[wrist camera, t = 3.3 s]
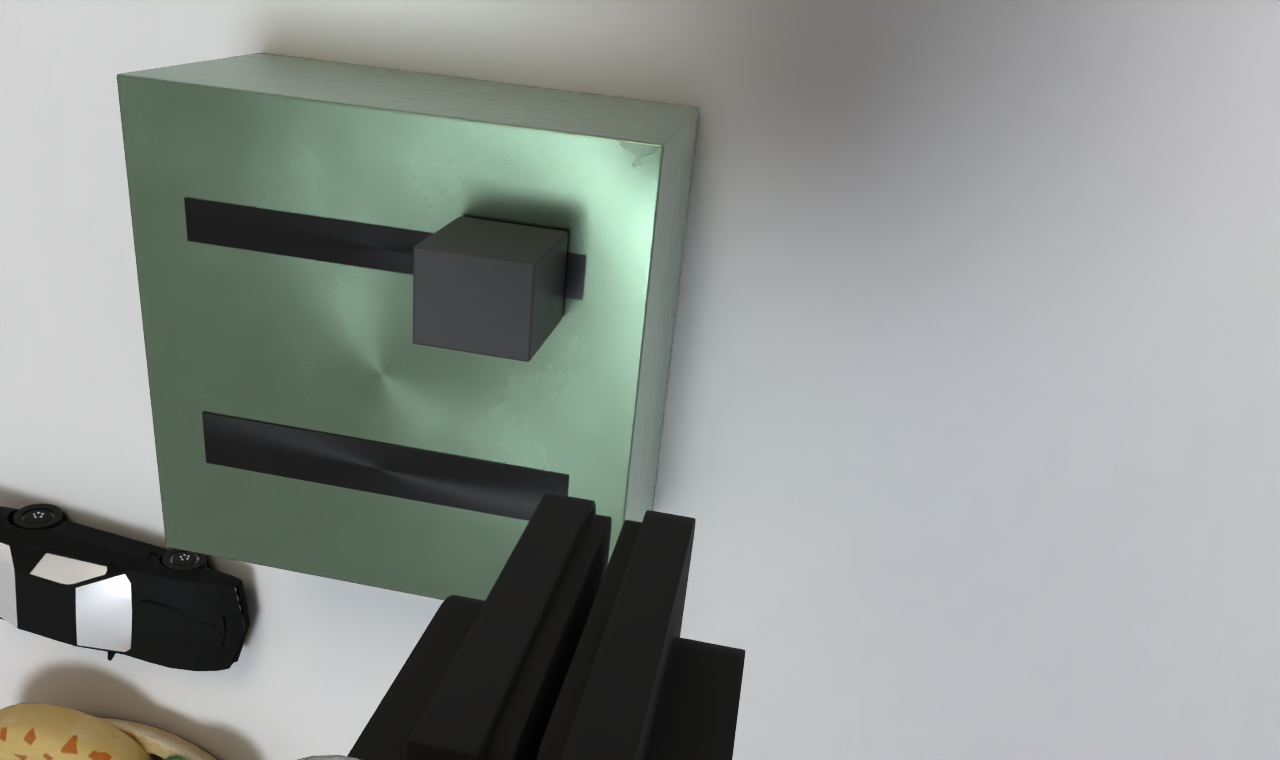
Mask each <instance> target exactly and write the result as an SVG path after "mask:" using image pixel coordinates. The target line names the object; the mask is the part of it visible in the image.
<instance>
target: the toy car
mask: <svg viewBox="0 0 1280 760" xmlns="http://www.w3.org/2000/svg"><path fill="white" fill-rule="evenodd" d="M206 561H207V555H206V554H201V553H196V552H191V551H186V550H180V549H175V548H172V549H170V550H168V549H165V548H161V547H158V546H154V545H151V544H147V543H144V542H140V541H137V540H133V539H130V538H126V537H123V536H119V535H116V534H112V533H109V532H105V531H101V530H98V529H94V528H91V527H87V526H84V525H80V524H77V523H73V522H70V521H65V522H64V523H63V512H62V510H61V509H60V508H58V507H57V506H54V505H50V504H33V505H29V506H26V507H23V508H21V509H19V510H18V509H13V508H7V507H1V506H0V619H4V620H6V621H8V622H9V623H11V624H13V625H14V626H16V627H17V628H18V629H21V630H25V631H28V632H32V633H35V634H38V635H41V636H44V637H47V638H51V639H54V640H57V641H60V642H64V643H67V644H71V645H73V646H78V647H84V648H90V649H96V650H102V651H107V652H108V660H110V661H111V660H112V658H113V657H114V655H115V653H119V654H124V655H128V656H131V657H134V658H137V659H141V660H144V661H147V662H151V663H154V664H158V665H162V666H166V667H169V668H176V669H184V670H192V671H218V670H224V669H229V668H230V667H231V665H232V664H233V663H234V662H237V661H238V658H239V655H240V653H241V650H242V647H243V644H244V641H245V638H246V635H247V632H248V629H249V626H250V619H249V613H248V608H247V603H246V598H245V593H244V587H243V582H242V580H240V579H238V578H236V577H234V576H231V575H228V574H225V573H222V572H219V571H215V570H212V569H209V568H206Z"/></svg>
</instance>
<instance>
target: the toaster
mask: <svg viewBox="0 0 1280 760" xmlns="http://www.w3.org/2000/svg"><path fill="white" fill-rule="evenodd" d="M117 83H118V93H119V102H120V112H121V121H122V131H123V140H124V150H125V159H126V169H127V178H128V188H129V197H130V207H131V216H132V226H133V235H134V245H135V254H136V264H137V273H138V283H139V292H140V302H141V311H142V321H143V330H144V340H145V349H146V359H147V368H148V378H149V387H150V397H151V406H152V416H153V425H154V435H155V444H156V454H157V463H158V473H159V482H160V492H161V501H162V511H163V520H164V530H165V539H166V546H167V547H170V548H175V549H180V550H186V551H191V552H196V553H201V554H206V555H212V556H217V557H222V558H227V559H232V560H238V561H243V562H248V563H253V564H259V565H264V566H269V567H274V568H279V569H285V570H290V571H295V572H300V573H305V574H311V575H316V576H321V577H326V578H331V579H337V580H342V581H347V582H352V583H357V584H363V585H368V586H373V587H378V588H384V589H389V590H394V591H399V592H404V593H410V594H415V595H420V596H425V597H430V598H436V599H441V600H445V599H446V598H447V597H448V596H451V595H458V596H463V597H469V598H474V599H479V600H486V598H487V597H488V595H489V593H490V591H491V589H492V588H493V586H494V584H495V582H496V580H497V579H498V577H499V575H500V573H501V571H502V570H503V568H504V566H505V564H506V562H507V560H508V559H509V557H510V555H511V553H512V551H513V550H514V548H515V546H516V544H517V542H518V541H519V539H520V537H521V535H522V533H523V532H524V530H525V528H526V526H527V524H528V523H529V521H530V519H531V517H532V515H533V513H534V512H535V510H536V508H537V506H538V504H539V503H540V501H541V499H542V497H543V496H544V494H545V493H553V494H558V495H564V496H570V497H576V498H581V499H587V500H593V501H595V504H596V514H597V515H603V516H609V517H611V519H612V526H611V538H610V547H609V557H608V563H609V561H610V558H611V556H612V553H613V550H614V548H615V545H616V542H617V540H618V537H619V534H620V532H621V529H622V526H623V524H624V522H625V520H631V521H637V522H642V521H643V518H644V515H645V513H646V511H647V510H650V511H652V510H653V501H654V493H655V484H656V476H657V467H658V459H659V450H660V442H661V433H662V425H663V416H664V408H665V399H666V391H667V382H668V374H669V365H670V357H671V348H672V340H673V331H674V323H675V314H676V305H677V297H678V288H679V280H680V271H681V263H682V254H683V246H684V237H685V229H686V220H687V212H688V203H689V195H690V186H691V178H692V169H693V161H694V152H695V144H696V135H697V127H698V118H699V108H698V107H691V106H683V105H675V104H667V103H659V102H651V101H643V100H635V99H627V98H619V97H611V96H603V95H595V94H587V93H579V92H571V91H563V90H555V89H547V88H539V87H531V86H523V85H515V84H507V83H499V82H491V81H483V80H475V79H467V78H459V77H451V76H443V75H434V74H426V73H418V72H410V71H402V70H394V69H386V68H378V67H370V66H362V65H354V64H346V63H338V62H330V61H322V60H314V59H306V58H298V57H290V56H282V55H274V54H266V53H257V54H250V55H244V56H237V57H230V58H223V59H216V60H210V61H203V62H196V63H189V64H183V65H176V66H169V67H162V68H155V69H149V70H142V71H135V72H128V73H122V74H118V75H117ZM460 216H462V217H469V218H476V219H483V220H490V221H497V222H504V223H511V224H518V225H525V226H532V227H539V228H546V229H553V230H560V231H566V232H567V233H568V240H567V254H566V268H565V283H564V297H563V311H562V320H561V321H560V323H559V324H558V325H557V326H556V328H555V329H554V330H553V332H552V333H551V334H550V336H549V337H548V338H547V339H546V341H545V342H544V343H543V345H542V346H541V347H540V349H539V350H538V351H537V352H536V354H535V355H534V356H533V358H532V359H531V360H530V361H529V362H525V361H519V360H512V359H506V358H500V357H494V356H487V355H481V354H475V353H469V352H462V351H456V350H450V349H443V348H437V347H431V346H425V345H418V344H414V343H413V248H414V246H416V245H417V244H419V243H420V242H422V241H423V240H425V239H426V238H428V237H429V236H431V235H432V234H434V233H435V232H437V231H438V230H440V229H441V228H443V227H444V226H446V225H447V224H449V223H450V222H452V221H453V220H455V219H456V218H458V217H460Z"/></svg>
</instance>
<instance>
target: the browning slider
mask: <svg viewBox="0 0 1280 760" xmlns="http://www.w3.org/2000/svg"><path fill="white" fill-rule="evenodd" d="M567 240H568V233H567V232H566V231H560V230H553V229H546V228H539V227H532V226H525V225H518V224H511V223H504V222H497V221H490V220H483V219H476V218H469V217H462V216H460V217H458V218H456V219H455V220H453V221H452V222H450V223H449V224H447V225H446V226H444V227H443V228H441V229H440V230H438V231H437V232H435V233H434V234H432V235H431V236H429V237H428V238H426V239H425V240H423V241H422V242H420V243H419V244H417V245H416V246H414V248H413V343H414V344H418V345H425V346H431V347H437V348H443V349H450V350H456V351H462V352H469V353H475V354H481V355H487V356H494V357H500V358H506V359H512V360H519V361H525V362H529V361H530V360H531V359H532V358H533V356H534V355H535V354H536V352H537V351H538V350H539V349H540V347H541V346H542V345H543V343H544V342H545V341H546V339H547V338H548V337H549V336H550V334H551V333H552V332H553V330H554V329H555V328H556V326H557V325H558V324H559V323H560V321H561V320H562V311H563V297H564V283H565V268H566V254H567Z"/></svg>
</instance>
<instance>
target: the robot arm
mask: <svg viewBox="0 0 1280 760" xmlns="http://www.w3.org/2000/svg"><path fill="white" fill-rule="evenodd" d="M611 526H612V519H611V517H609V516H603V515H597V514H596V504H595V501H593V500H587V499H581V498H576V497H570V496H564V495H558V494H553V493H545V494H544V496H543V497H542V499H541V501H540V503H539V504H538V506H537V508H536V510H535V512H534V513H533V515H532V517H531V519H530V521H529V523H528V524H527V526H526V528H525V530H524V532H523V533H522V535H521V537H520V539H519V541H518V542H517V544H516V546H515V548H514V550H513V551H512V553H511V555H510V557H509V559H508V560H507V562H506V564H505V566H504V568H503V570H502V571H501V573H500V575H499V577H498V579H497V580H496V582H495V584H494V586H493V588H492V589H491V591H490V593H489V595H488V597H487V598H486V600H479V599H474V598H469V597H463V596H458V595H451V596H448V597H447V598H446V599H445V601H444V602H443V603H442V604H441V606H440V608H439V609H438V611H437V612H436V614H435V616H434V617H433V619H432V620H431V622H430V624H429V625H428V627H427V629H426V630H425V632H424V633H423V635H422V637H421V638H420V640H419V641H418V643H417V645H416V646H415V648H414V649H413V651H412V653H411V654H410V656H409V658H408V659H407V661H406V662H405V664H404V666H403V667H402V669H401V670H400V672H399V674H398V675H397V677H396V679H395V680H394V682H393V683H392V685H391V687H390V688H389V690H388V691H387V693H386V695H385V696H384V698H383V699H382V701H381V703H380V704H379V706H378V708H377V709H376V711H375V712H374V714H373V716H372V717H371V719H370V720H369V722H368V724H367V725H366V727H365V729H364V730H363V732H362V733H361V735H360V737H359V738H358V740H357V741H356V743H355V745H354V746H353V748H352V749H351V751H350V753H349V754H348V756H342V755H328V756H310V757H306V758H302V759H298V760H732V756H733V748H734V739H735V731H736V723H737V715H738V707H739V699H740V691H741V683H742V675H743V667H744V658H745V650H742V649H737V648H732V647H726V646H721V645H716V644H711V643H705V642H700V641H695V640H690V639H684V638H680V632H681V625H682V617H683V610H684V603H685V596H686V588H687V581H688V574H689V567H690V560H691V552H692V545H693V538H694V530H695V518H690V517H684V516H678V515H673V514H667V513H661V512H656V511H650V510H647V511H646V513H645V515H644V518H643V521H642V522H637V521H631V520H625V522H624V524H623V526H622V529H621V532H620V534H619V537H618V540H617V542H616V545H615V548H614V550H613V553H612V556H611V558H610V561H609V563H608V557H609V547H610V538H611Z"/></svg>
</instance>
